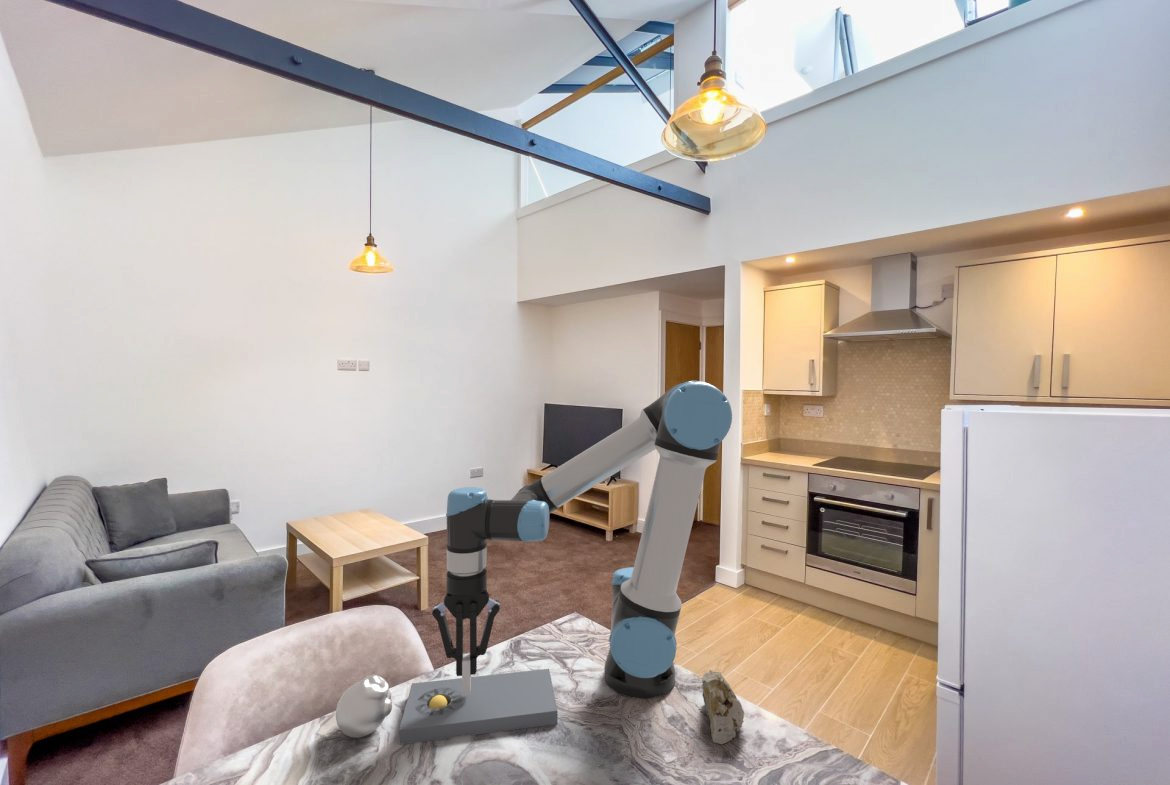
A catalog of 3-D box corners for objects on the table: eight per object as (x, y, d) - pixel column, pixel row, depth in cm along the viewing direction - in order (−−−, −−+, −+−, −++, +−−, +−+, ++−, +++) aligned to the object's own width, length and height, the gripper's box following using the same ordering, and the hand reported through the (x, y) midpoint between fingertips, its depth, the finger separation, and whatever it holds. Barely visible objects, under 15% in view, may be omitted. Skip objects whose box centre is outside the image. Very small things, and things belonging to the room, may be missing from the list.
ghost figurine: (372, 753, 85) (371, 695, 85) (324, 745, 87) (324, 688, 87) (402, 719, 94) (402, 666, 94) (358, 712, 96) (358, 660, 96)
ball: (446, 689, 97) (428, 692, 96) (445, 702, 94) (426, 706, 93) (448, 703, 97) (431, 707, 97) (447, 718, 94) (429, 722, 94)
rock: (752, 744, 85) (740, 678, 88) (713, 747, 86) (703, 682, 89) (740, 721, 97) (730, 664, 100) (706, 724, 97) (697, 667, 100)
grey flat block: (549, 680, 106) (549, 668, 106) (557, 723, 92) (557, 710, 92) (412, 695, 101) (411, 683, 101) (399, 744, 87) (399, 730, 87)
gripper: (500, 560, 101) (500, 676, 101) (434, 564, 98) (433, 682, 99) (501, 574, 93) (500, 698, 94) (429, 578, 91) (429, 706, 91)
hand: (466, 690), depth 96 cm, fingers closed
